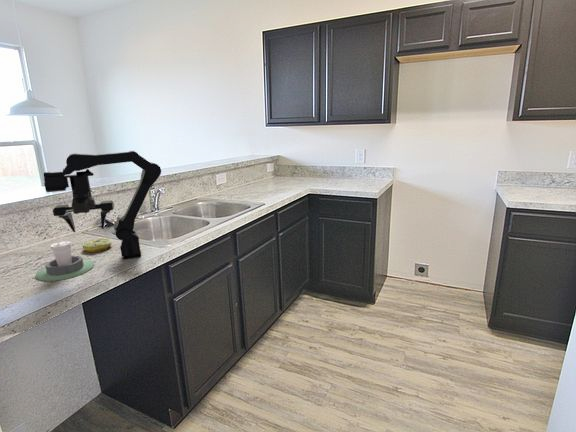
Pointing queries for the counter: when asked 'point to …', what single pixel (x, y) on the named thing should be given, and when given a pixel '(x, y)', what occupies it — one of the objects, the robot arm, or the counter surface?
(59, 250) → the smoothie
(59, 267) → the putting green cup
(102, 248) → the decorated donut
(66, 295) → the counter surface
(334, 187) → the counter surface
